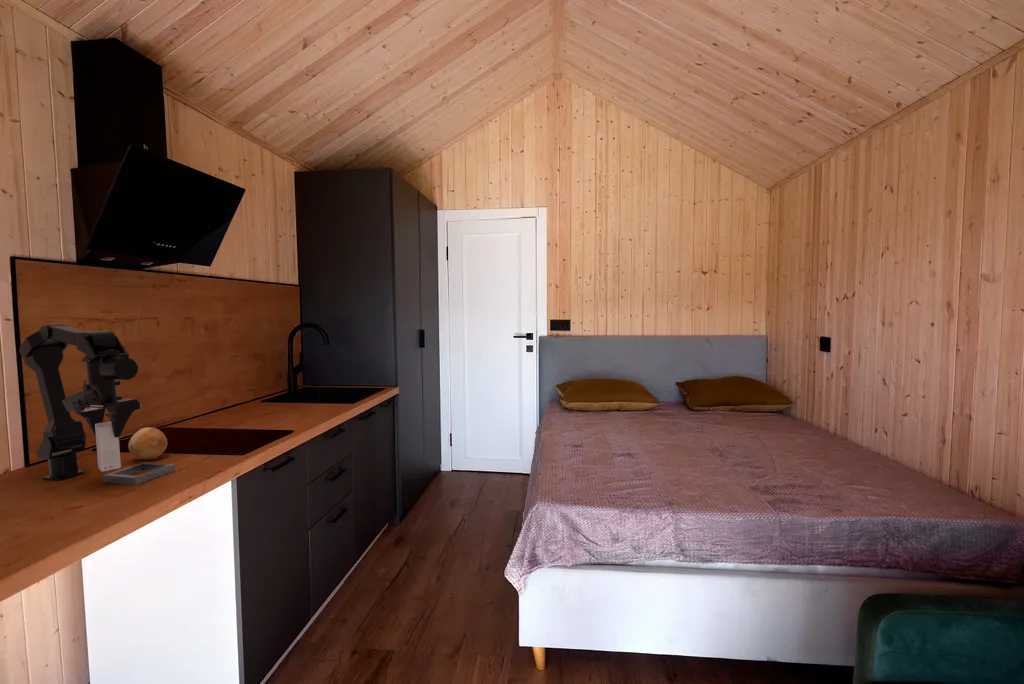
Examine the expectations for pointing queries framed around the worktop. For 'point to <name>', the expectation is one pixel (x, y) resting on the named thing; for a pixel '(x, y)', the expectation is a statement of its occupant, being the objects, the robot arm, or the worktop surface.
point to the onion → (147, 443)
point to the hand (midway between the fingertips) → (107, 436)
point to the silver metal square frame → (126, 478)
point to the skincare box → (107, 447)
